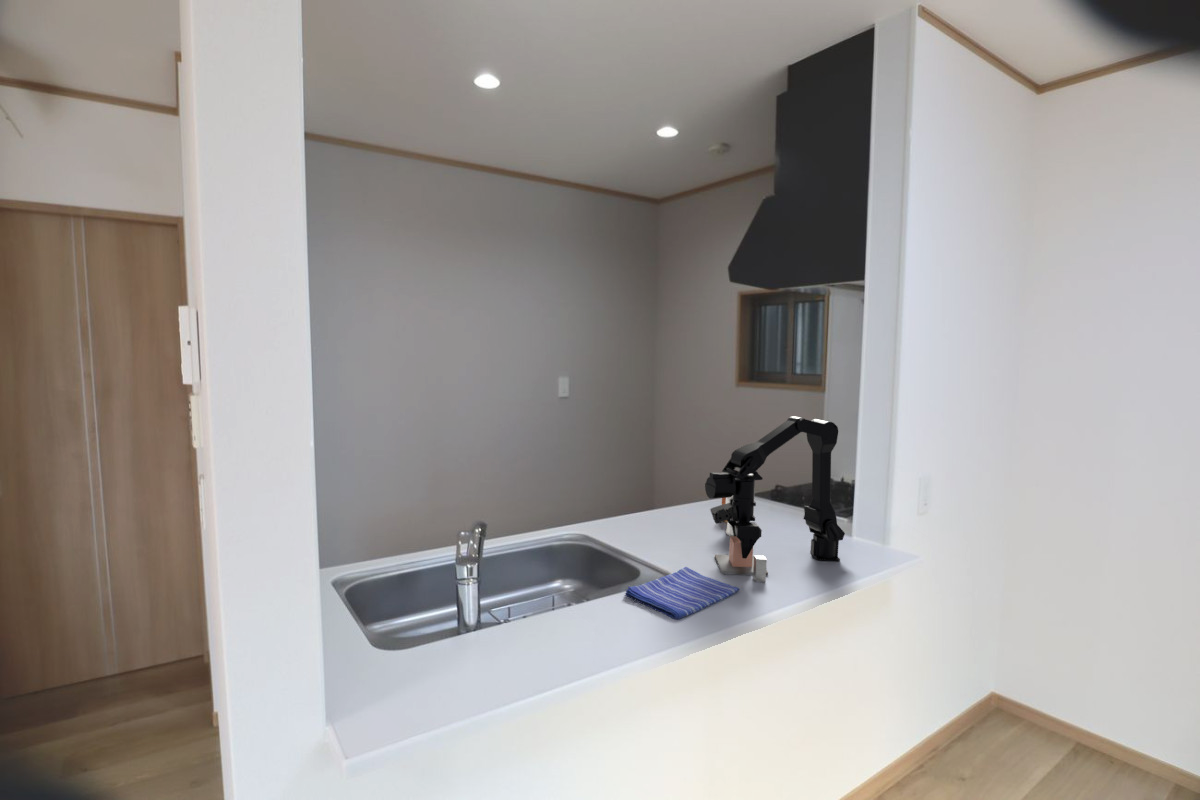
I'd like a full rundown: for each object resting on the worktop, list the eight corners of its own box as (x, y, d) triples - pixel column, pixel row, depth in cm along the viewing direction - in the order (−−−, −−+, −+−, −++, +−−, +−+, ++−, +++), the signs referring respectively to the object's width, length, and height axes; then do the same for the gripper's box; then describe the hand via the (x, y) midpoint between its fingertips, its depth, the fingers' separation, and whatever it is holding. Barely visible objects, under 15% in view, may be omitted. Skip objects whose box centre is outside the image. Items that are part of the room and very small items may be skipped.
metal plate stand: (757, 558, 166) (758, 537, 166) (767, 575, 154) (769, 552, 154) (714, 557, 166) (715, 535, 166) (722, 574, 155) (723, 550, 154)
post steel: (763, 577, 153) (764, 555, 152) (765, 582, 150) (766, 559, 149) (752, 577, 153) (754, 555, 152) (755, 581, 150) (756, 559, 149)
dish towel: (622, 598, 140) (622, 586, 140) (685, 573, 156) (685, 562, 156) (677, 624, 128) (677, 611, 127) (739, 594, 144) (740, 583, 143)
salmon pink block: (747, 559, 163) (748, 536, 162) (752, 567, 158) (753, 543, 157) (729, 559, 163) (730, 536, 162) (732, 566, 158) (733, 542, 157)
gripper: (708, 486, 168) (706, 539, 169) (719, 504, 149) (716, 564, 151) (747, 487, 168) (744, 540, 169) (763, 506, 149) (760, 565, 151)
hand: (740, 552), depth 160 cm, fingers open, 9 cm apart
